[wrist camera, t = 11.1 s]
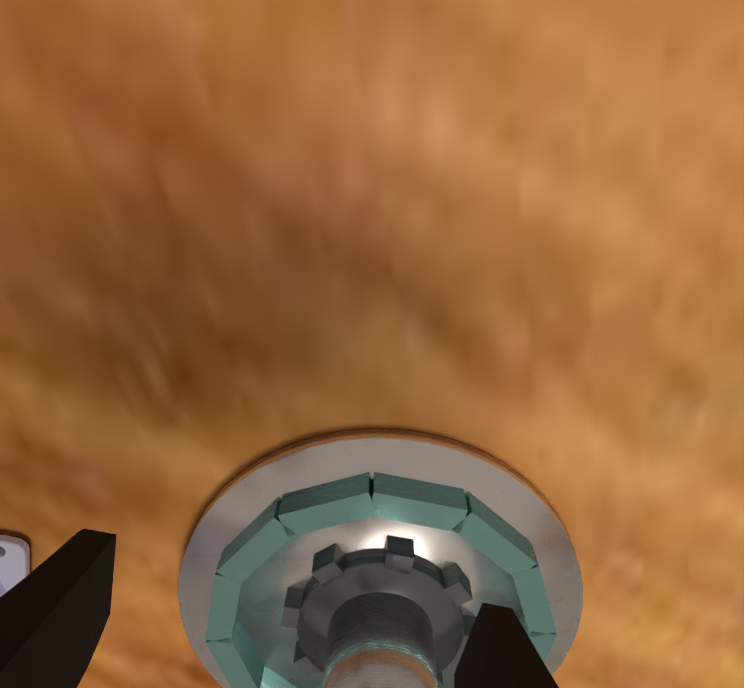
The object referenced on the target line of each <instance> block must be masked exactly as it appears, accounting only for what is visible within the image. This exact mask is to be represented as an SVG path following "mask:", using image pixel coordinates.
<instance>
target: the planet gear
mask: <svg viewBox="0 0 744 688" xmlns="http://www.w3.org/2000/svg"><path fill="white" fill-rule="evenodd" d="M312 574H313V576H312V577H311V578H310V580H309V581H308V583H307V584H306V586H305V588H304V589H297V588H291V587H288V588H287V593H286V598H285V604H284V609H283V615H282V620H281V625H280V626H283V627H290V628H296V629H297V635H298V639H299V641H297V642H296V647H295V654H294V660H293V663H294V664H295V665H296V666H297V667H298V668H299V669H300V670H301V671H302V672H303V673H304V674H305V675H306V676H307V677H311V676H313V675H315V674H317V673H319V672H323V673H324V677H323V687H322V688H439V687H441V686H443V679H442V670H444V669H445V668H446V667H447V666H448V665H449V664H450V663H451V662H452V660H453V659H454V658H455V656H456V655H457V654H462V653H463V650H464V648H465V645H466V643H467V640H468V638H469V635H470V633H471V630H472V627H473V625H474V622H475V620H476V617H473V616H466V615H462V609H461V605H462V604H464V603H466V602H468V601H470V600H472V599H473V598H472V592H471V586H470V580H469V578H468V577H467V576H466V574H465V573H464V572H463V571H462V569H461V568H460V567H459V566H458V564H457V563H454V564H452V565H450V566H448V567H446V568H444V569H442V570H441V569H440V568H439V567H438V566H437V565H435V564H434V563H432V562H430V561H429V560H427V559H425V558H423V557H421V556H419V555H416V554H414V540H413V539H409V538H403V537H397V536H391V535H387V538H386V542H385V546H384V548H371V549H362V550H357V551H353V552H350V553H347V554H345V553H344V552H343V551H342V549H341V548H340V547H339V546H338V545H337V544H336V543H334V544H332V545H330V546H328V547H326V548H325V549H323V550H321V551H319V552H317V553H315V554H314V558H313V566H312Z"/></svg>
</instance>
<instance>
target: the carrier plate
mask: <svg viewBox="0 0 744 688" xmlns="http://www.w3.org/2000/svg"><path fill="white" fill-rule="evenodd" d="M387 535H391V536H397V537H403V538H409V539H413V540H414V554H416V555H419V556H421V557H423V558H425V559H427V560H429V561H430V562H432V563H434V564H435V565H437V566H438V567H439V568H440V569H441V570H442V569H444V568H446V567H448V566H450V565H452V564H454V563H457V564H458V566H459V567H460V568H461V569H462V571H463V572H464V573H465V574H466V576H467V577H468V578H469V580H470V586H471V592H472V598H473V599H472V600H470V601H468V602H466V603H464V604H462V605H461V609H462V615H466V616H473V617H477V615H478V612H479V610H480V607H481V605H482V603H488V604H493V605H498V606H504V607H509V608H512V609H513V610H514V612H515V614H516V615H517V617H518V619H519V621H520V622H521V624H522V626H523V627H524V629H525V631H526V633H527V634H528V636H529V638H530V640H531V641H532V643H533V645H534V647H535V648H536V650H537V652H538V653H539V655H540V657H541V659H542V660H543V662H544V664H545V665H546V667H547V669H548V670H549V672H550V674H551V675H553V674H554V672H555V671H556V670H557V668H558V667H559V666H560V665H561V663H562V661H563V660H564V658H565V656H566V654H567V653H568V651H569V649H570V647H571V645H572V643H573V640H574V638H575V635H576V632H577V630H578V627H579V622H580V617H581V612H582V599H583V586H582V579H581V573H580V567H579V564H578V561H577V558H576V555H575V552H574V549H573V546H572V544H571V541H570V539H569V536H568V534H567V532H566V530H565V528H564V526H563V524H562V522H561V520H560V519H559V517H558V515H557V513H556V512H555V510H554V509H553V508H552V507H551V505H550V504H549V503H548V501H547V500H546V499H545V497H544V496H543V495H542V494H541V493H540V492H539V491H538V490H537V489H536V488H535V487H534V486H533V485H532V484H531V483H530V482H529V481H528V480H527V479H526V478H524V477H523V476H522V475H520V474H519V473H517V472H516V471H515V470H513V469H512V468H511V467H509V466H508V465H506V464H505V463H503V462H501V461H500V460H498V459H496V458H494V457H492V456H490V455H489V454H487V453H485V452H483V451H481V450H479V449H476V448H473V447H471V446H468V445H466V444H463V443H461V442H458V441H456V440H452V439H448V438H444V437H440V436H436V435H432V434H429V433H422V432H414V431H407V430H400V429H361V430H350V431H340V432H336V433H331V434H326V435H321V436H316V437H312V438H309V439H306V440H303V441H300V442H297V443H294V444H291V445H288V446H286V447H284V448H282V449H280V450H278V451H275V452H273V453H271V454H269V455H267V456H265V457H263V458H261V459H260V460H258V461H257V462H255V463H254V464H252V465H251V466H249V467H248V468H246V469H245V470H243V471H242V472H240V473H239V474H238V475H237V476H236V477H235V478H234V479H232V480H231V481H230V482H229V483H228V484H227V485H225V486H224V487H223V488H222V490H221V491H220V492H219V493H218V494H217V495H216V497H215V498H214V499H213V500H212V501H211V502H210V504H209V505H208V506H207V508H206V510H205V511H204V513H203V515H202V516H201V518H200V519H199V521H198V523H197V525H196V527H195V530H194V532H193V535H192V537H191V539H190V542H189V544H188V547H187V549H186V552H185V554H184V557H183V561H182V566H181V570H180V575H179V589H178V600H179V607H180V614H181V619H182V622H183V626H184V629H185V632H186V635H187V638H188V640H189V642H190V644H191V646H192V648H193V650H194V652H195V654H196V655H197V657H198V658H199V660H200V661H201V663H202V664H203V665H204V667H205V668H206V670H207V671H208V672H209V673H210V674H211V676H212V677H213V678H214V679H215V680H216V681H217V682H218V683H219V684H220V685H221V687H223V688H322V687H323V677H324V673H323V672H319V673H317V674H315V675H313V676H311V677H307V676H306V675H305V674H304V673H303V672H302V671H301V670H300V669H299V668H298V667H297V666H296V665H295V664H294V663H293V660H294V654H295V647H296V642H297V641H299V639H298V635H297V629H296V628H290V627H283V626H280V625H281V620H282V615H283V609H284V604H285V598H286V593H287V588H288V587H291V588H297V589H304V588H305V586H306V584H307V583H308V581H309V580H310V578H311V577H312V576H313V574H312V566H313V558H314V554H315V553H317V552H319V551H321V550H323V549H325V548H326V547H328V546H330V545H332V544H334V543H336V544H337V545H338V546H339V547H340V548H341V549H342V551H343V552H344V553H345V554H347V553H350V552H353V551H357V550H362V549H371V548H384V546H385V542H386V538H387ZM461 655H462V654H457V655H456V656H455V658H454V659H453V660H452V662H451V663H450V664H449V665H448V666H447V667H446V668H445V669H444V670H442V679H443V686H441V687H439V688H454V673H455V671H456V668H457V666H458V663H459V660H460V658H461Z"/></svg>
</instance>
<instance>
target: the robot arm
mask: <svg viewBox="0 0 744 688" xmlns="http://www.w3.org/2000/svg"><path fill="white" fill-rule="evenodd" d="M115 545H116V534H110V533H105V532H100V531H94V530H89V529H83V530H81V531H79V532H77V533H76V534H75V535H74V536H73V537H72V538H71V539H70V540H68V541H67V542H66V543H65V544H64V545H63V546H62V547H60V548H59V549H58V550H57V551H56V552H55V553H53V554H52V555H51V556H50V557H49V558H48V559H46V560H45V561H44V562H43V563H42V564H41V565H39V566H38V567H37V568H36V569H35V570H33V571H32V572H31V573H30V549H29V545H28V544H27V543H26V542H25V541H24V540H22V539H20V538H16V537H11V536H5V535H0V547H3V548H4V549H2V548H0V688H77V686H78V684H79V682H80V681H81V679H82V677H83V675H84V673H85V671H86V669H87V667H88V665H89V663H90V660H91V658H92V656H93V653H94V651H95V649H96V646H97V644H98V642H99V639H100V637H101V634H102V632H103V630H104V627H105V625H106V622H107V620H108V617H109V615H110V608H111V595H112V583H113V570H114V558H115ZM454 688H559V687H558V685H557V684H556V682H555V680H554V679H553V677H552V675H551V674H550V672H549V670H548V669H547V667H546V665H545V664H544V662H543V660H542V659H541V657H540V655H539V653H538V652H537V650H536V648H535V647H534V645H533V643H532V641H531V640H530V638H529V636H528V634H527V633H526V631H525V629H524V627H523V626H522V624H521V622H520V621H519V619H518V617H517V615H516V614H515V612H514V610H513V609H512V608H509V607H504V606H498V605H493V604H488V603H482V605H481V607H480V610H479V612H478V615H477V617H476V620H475V622H474V625H473V627H472V630H471V633H470V635H469V638H468V640H467V643H466V645H465V648H464V650H463V653H462V655H461V658H460V660H459V663H458V666H457V668H456V671H455V673H454Z"/></svg>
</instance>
